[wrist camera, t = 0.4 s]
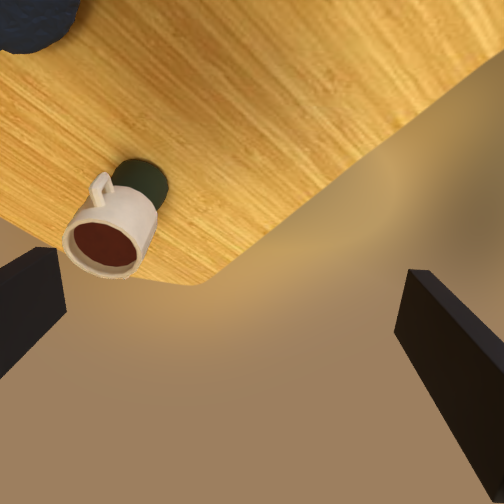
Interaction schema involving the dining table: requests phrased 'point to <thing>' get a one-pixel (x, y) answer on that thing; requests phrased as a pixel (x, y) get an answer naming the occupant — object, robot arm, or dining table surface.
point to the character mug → (116, 221)
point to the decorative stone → (34, 23)
